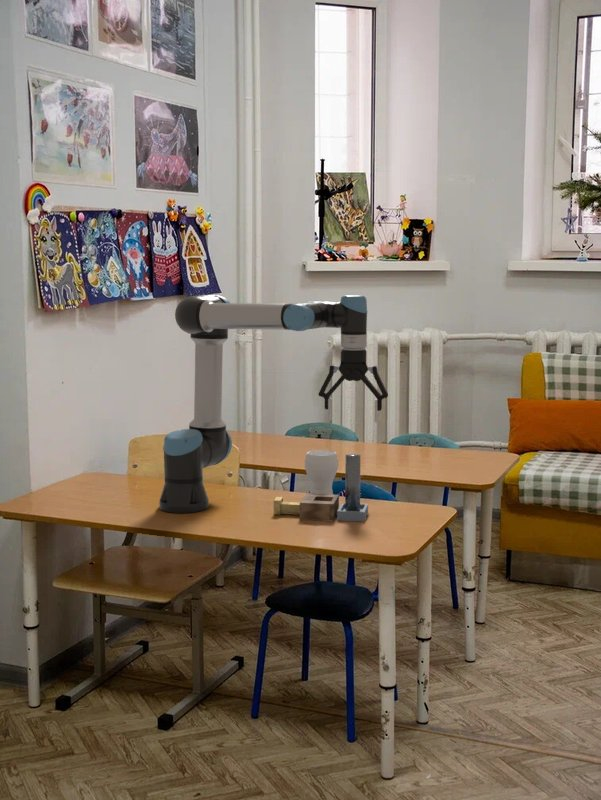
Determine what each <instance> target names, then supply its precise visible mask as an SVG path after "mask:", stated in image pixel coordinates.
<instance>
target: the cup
mask: <svg viewBox="0 0 601 800" xmlns="http://www.w3.org/2000/svg"><path fill="white" fill-rule="evenodd" d="M338 468H339V459H338V453H337V452H336V451H334V450H328V449H317V450H316V449H314V450H309V451H307V452H306V454H305V458H304V469H305V472H306V474H307V477H308V479H309V483H310V485H309V486H310V490H309V493H310V494H334V492H333V483H334V479H335V477H336V475H337V472H338Z"/></svg>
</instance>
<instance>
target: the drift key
mask: <svg viewBox="0 0 601 800" xmlns="http://www.w3.org/2000/svg"><path fill="white" fill-rule="evenodd" d="M273 515H299V516H300V502H293V501H284V497H283V496H276V497H275V498H274V499H273Z"/></svg>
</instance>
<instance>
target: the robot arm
mask: <svg viewBox="0 0 601 800" xmlns="http://www.w3.org/2000/svg"><path fill="white" fill-rule="evenodd" d="M367 303H368V301H367V298H366V297H365V296H364V295H358V294H357V295H348V294H347V295H346V294H345V295H342V296H341V297H340V301H336V302H334V301H318V300H313V301H306V302H305V303H303V302H302V303H297V302H296V303H295V302H294V303H291V302H290V303H282V302H281V303H280V302H279V303H278V302H277V303H273V302H271V303H269V302H268V303H265V302H263V303H261V302H257V303H250V302H249V303H247V302H246V303H245V302H242V303H239V302H238V303H237V302H233V303H232V302H230V301H229V300H228V299H227V298H226V297H224V296H222V295H219V294H218V295H217V294H202V295H201V294H200V295H192V296H191V295H190V296H187V297H185V298H183V299H181V300H180V302H178V304H177V306H176V307H175V311H174V318H175V322H176V324H177V326H178V328H179V329H180V330H182V332H185V333H187V334H190V339H191V340H192V341H193V342H194V346H195V347H194V400H193V401H194V402H193V405H194V406H193V407H194V409H193V412H194V414H193V415H194V416H193V419H192V420H191V421H190V422H189V424H188V425H189V426H188V428H185V429H179V430H174V431H171V432H169V433H167V434H166V435H165V437H164V439H163V449H162V450H163V465H164V467H163V471H164V473H163V474H164V485H163V488H162V491H161V494H160V497H159V502H158V503H159V504H158V506H159V509H160V510H161V511H163V512H167V513H173V514H189V513H197V512H202V511H205V510H208V509H209V506H210V505H209V504H210V503H209V501H210V500H209V497H208V494H207V491H206V488H205V485H204V482H203V481H204V479H203V476H204V475H203V473H204V472H203V470H204V468H207V467H211V466H216V465H219V464H220V463H221V462H223V461H224V460H225V461H226V459H227V458H228V457H229V455H230V453H231V451H232V447H233V441H232V436H231V435H230V434H229V431H228V430H227V424H226V423H225V421H224V420H223V419H222V402H223V401H222V400H223V399H222V398H223V396H222V395H223V393H222V392H223V391H222V390H223V353H224V351H223V348H224V347H223V345H224V343H225V342H226V341H227V340H228V339H229V337H228V336H229V330H274V331H275V330H278V331H279V330H283V331H285V330H287V331H295V332H303V331H304V332H305V331H308V330H313V329H320V328H332V329H333V328H337V329H340V348H342V349H341V350H340V365H335V364H331V365H330V366H329V369H328V374H327V377H326V378H325V380H324V382H323V384H322V386H321V388H320V390H319V392H318V394H317V395H318V397H322V398H323V399H324V410H327V422H331V421H332V420H333V397H331V396H332V394H333V393H334V392H335V391H336V390H337V388H338V387H340V385H341V384H342V383H343V381H344V380H346V381H348V382H352V381H354V382H355V381H356V382H360V381H362V383H364V385H365V386H366V387H367V388H368V389H369V391H370V392H371V393H372V394H373V395H374V397H375V399H374V419H373V421H374V423H378V422H379V412H381V411H382V409H383V405H382V404H383V400H384V399H387V398H388V397H389V393H388V391H387V389H386V387H385V384H384V383H383V381H382V378H381V377H380V374H379V371H378V366H377V365H375V364H374V365H373V366H370V365H369V366H368V365H367V364H368V363H367V354H368V353H367V352H368V351H367V350H366V348H367V344H368V343H367V342H368V341H367V339H368V338H367V337H368V335H367V331H368V330H367V328H368V327H367V326H368V304H367ZM337 371H339V372H340V374H341V376H339V378H338V380H337V381H336V382H335V383H334V384H333V386H331V388H330V389H329V390H328V391H327V392H326V390H327V389H328V386H329V384H330V382H331V380H332V378H333V376H334V374H336V373H337ZM368 371H369V372H370V374H373V375H372V376H373V377H374V380H375V382H376V384H377V386H378V388H379V390H380V391H379V390H378V389H377V388H376V387H375V385H373V383H372V382H371V381H370V380H369V378H368V377H367V375H366V373H367V372H368ZM380 392H381V393H380Z"/></svg>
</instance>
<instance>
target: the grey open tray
mask: <svg viewBox="0 0 601 800" xmlns="http://www.w3.org/2000/svg"><path fill="white" fill-rule="evenodd" d="M367 513H368V514H369V504H368V503H360V511H345V502H342V503H341V504H339V509H338V511H337V515H336V516H337V518H336V520H337V521H348V522H349V521H351V522H365V520H366V519H367V516H368V514H367ZM365 518H366V519H365Z"/></svg>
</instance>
